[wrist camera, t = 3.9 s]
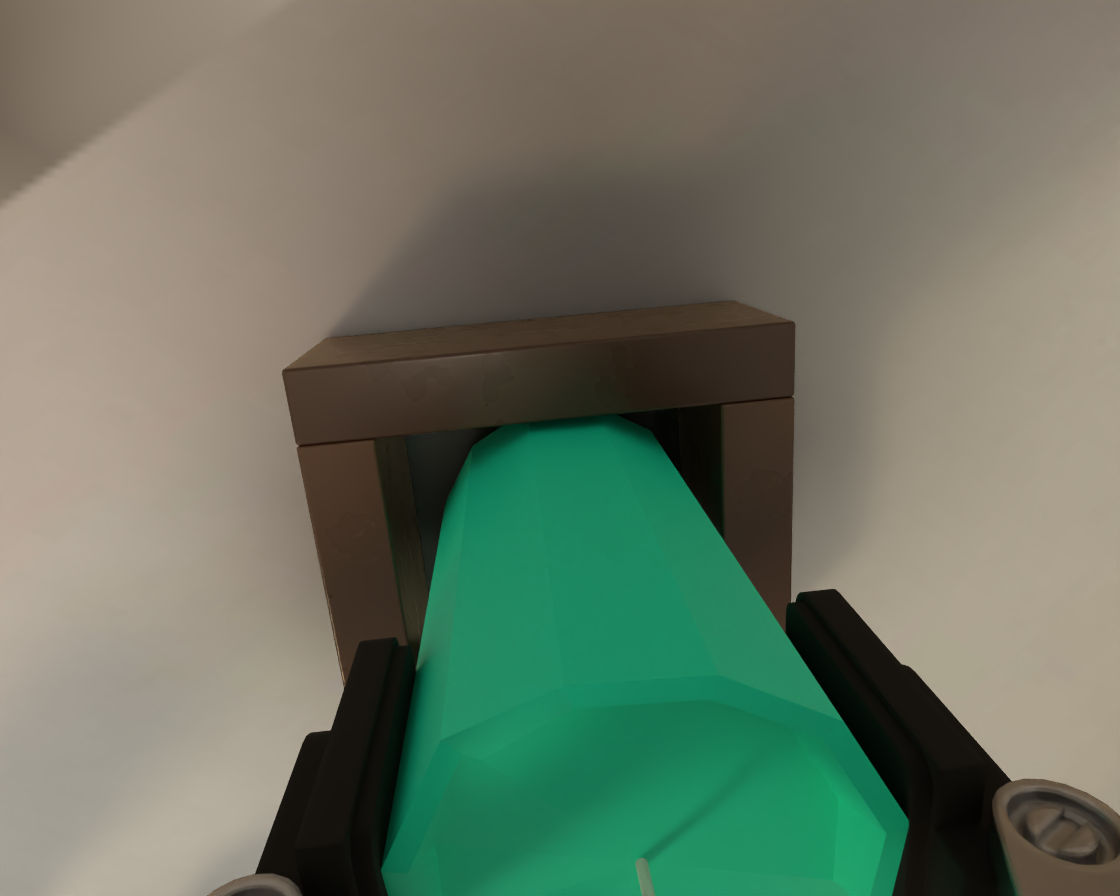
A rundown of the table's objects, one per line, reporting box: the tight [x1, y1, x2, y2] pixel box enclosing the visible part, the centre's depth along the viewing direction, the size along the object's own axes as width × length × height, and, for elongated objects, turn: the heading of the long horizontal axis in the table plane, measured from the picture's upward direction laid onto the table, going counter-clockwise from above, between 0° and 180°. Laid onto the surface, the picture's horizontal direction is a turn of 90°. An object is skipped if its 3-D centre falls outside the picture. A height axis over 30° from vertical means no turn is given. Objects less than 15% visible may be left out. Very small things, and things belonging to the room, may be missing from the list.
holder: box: [282, 301, 795, 688], centre depth 18 cm, size 10×10×4 cm
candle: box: [381, 414, 909, 896], centre depth 13 cm, size 6×6×12 cm
